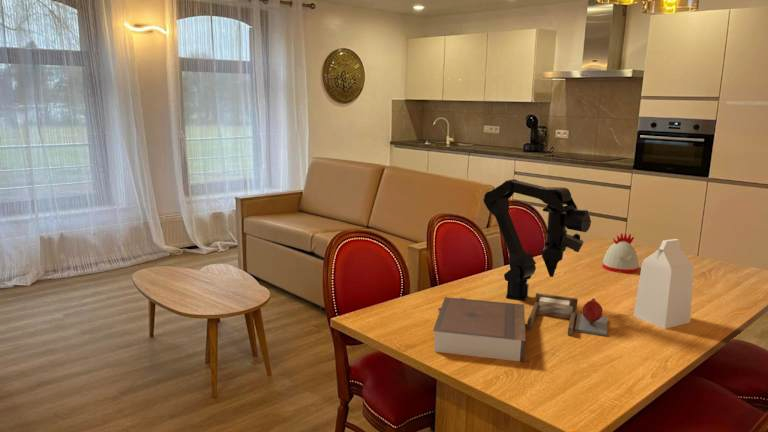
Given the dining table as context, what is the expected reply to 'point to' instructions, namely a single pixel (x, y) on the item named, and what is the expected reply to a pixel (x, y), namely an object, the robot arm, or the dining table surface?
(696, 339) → the dining table surface
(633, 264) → the knit hat
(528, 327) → the rack
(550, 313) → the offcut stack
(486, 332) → the book
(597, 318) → the onion
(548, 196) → the robot arm
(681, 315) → the milk
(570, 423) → the dining table surface
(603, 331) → the slate board
